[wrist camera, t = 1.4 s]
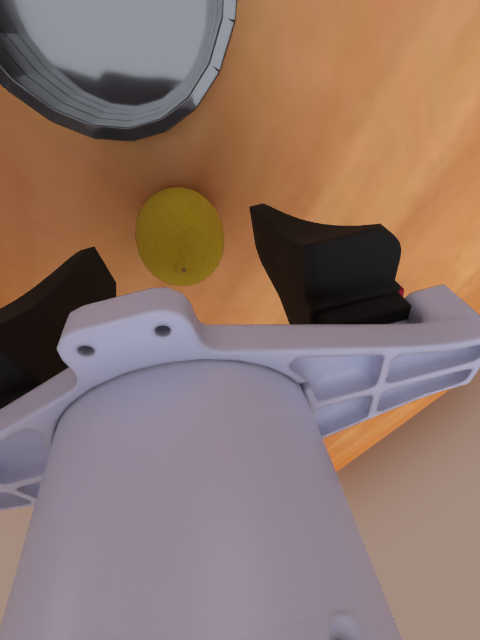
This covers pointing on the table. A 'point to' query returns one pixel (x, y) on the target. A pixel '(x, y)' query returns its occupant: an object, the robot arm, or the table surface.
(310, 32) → the table surface
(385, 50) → the table surface
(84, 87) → the pan
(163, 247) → the lemon
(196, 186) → the table surface
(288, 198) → the table surface
